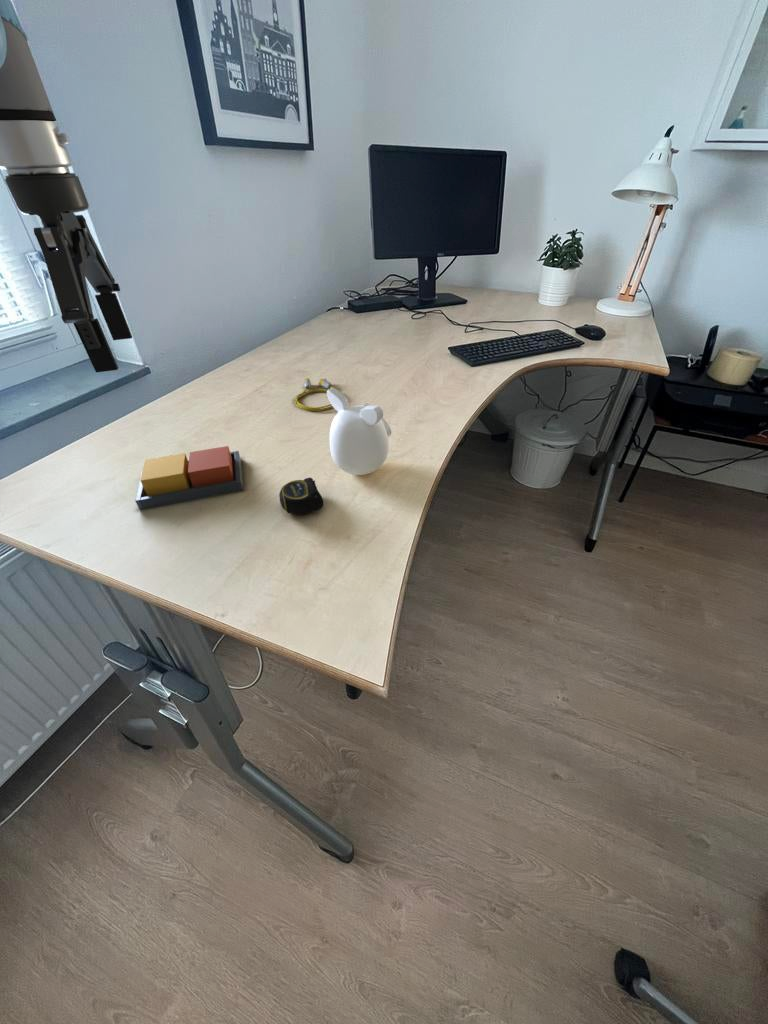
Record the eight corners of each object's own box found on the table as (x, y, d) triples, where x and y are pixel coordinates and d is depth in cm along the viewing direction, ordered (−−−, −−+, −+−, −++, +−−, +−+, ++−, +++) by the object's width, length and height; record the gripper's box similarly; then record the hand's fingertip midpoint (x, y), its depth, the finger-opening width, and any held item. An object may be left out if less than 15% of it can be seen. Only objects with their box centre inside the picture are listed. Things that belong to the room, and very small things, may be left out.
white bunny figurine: (402, 459, 86) (403, 387, 76) (375, 492, 78) (372, 416, 68) (348, 445, 90) (342, 376, 80) (317, 475, 82) (306, 402, 72)
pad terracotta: (194, 490, 78) (187, 472, 76) (196, 469, 83) (189, 452, 81) (234, 483, 80) (229, 465, 77) (233, 463, 85) (228, 445, 82)
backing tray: (139, 509, 75) (135, 501, 74) (146, 475, 83) (143, 466, 82) (243, 490, 79) (240, 481, 77) (240, 459, 87) (238, 450, 86)
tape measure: (326, 513, 73) (323, 496, 71) (285, 523, 72) (282, 505, 69) (316, 490, 78) (314, 473, 76) (278, 499, 77) (274, 482, 74)
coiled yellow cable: (351, 385, 113) (351, 378, 111) (334, 414, 101) (334, 406, 99) (306, 383, 114) (305, 375, 113) (285, 410, 103) (284, 402, 101)
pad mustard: (148, 499, 77) (140, 480, 74) (152, 477, 82) (144, 459, 79) (190, 491, 78) (183, 473, 76) (191, 470, 83) (185, 452, 81)
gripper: (44, 174, 42) (130, 382, 56) (96, 167, 60) (151, 325, 74) (-46, 177, 41) (66, 390, 54) (35, 169, 59) (104, 330, 73)
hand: (115, 353), depth 64 cm, fingers open, 13 cm apart
